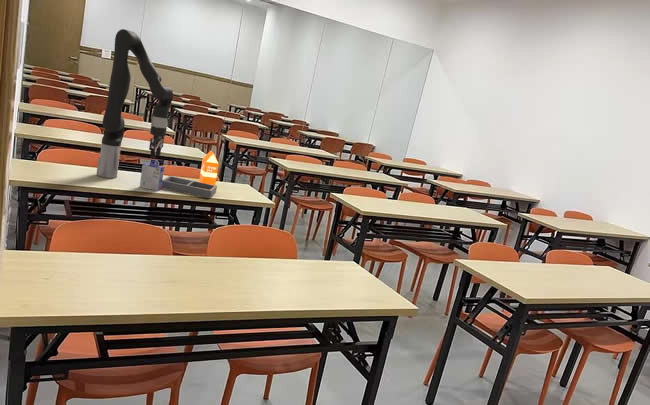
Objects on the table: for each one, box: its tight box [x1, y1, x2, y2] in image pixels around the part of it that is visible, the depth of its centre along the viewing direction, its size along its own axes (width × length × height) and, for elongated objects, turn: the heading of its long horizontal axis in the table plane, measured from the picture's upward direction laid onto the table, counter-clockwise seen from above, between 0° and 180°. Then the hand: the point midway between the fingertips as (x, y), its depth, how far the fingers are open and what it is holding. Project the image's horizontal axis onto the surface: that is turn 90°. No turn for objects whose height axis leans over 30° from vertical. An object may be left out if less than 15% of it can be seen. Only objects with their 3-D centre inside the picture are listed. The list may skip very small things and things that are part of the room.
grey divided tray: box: [161, 175, 218, 199], centre depth 265 cm, size 27×14×4 cm, turn 91°
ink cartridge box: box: [139, 159, 165, 192], centre depth 252 cm, size 10×6×14 cm, turn 89°
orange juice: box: [198, 150, 219, 185], centre depth 283 cm, size 8×9×20 cm
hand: (155, 157), depth 250 cm, fingers open, 8 cm apart
